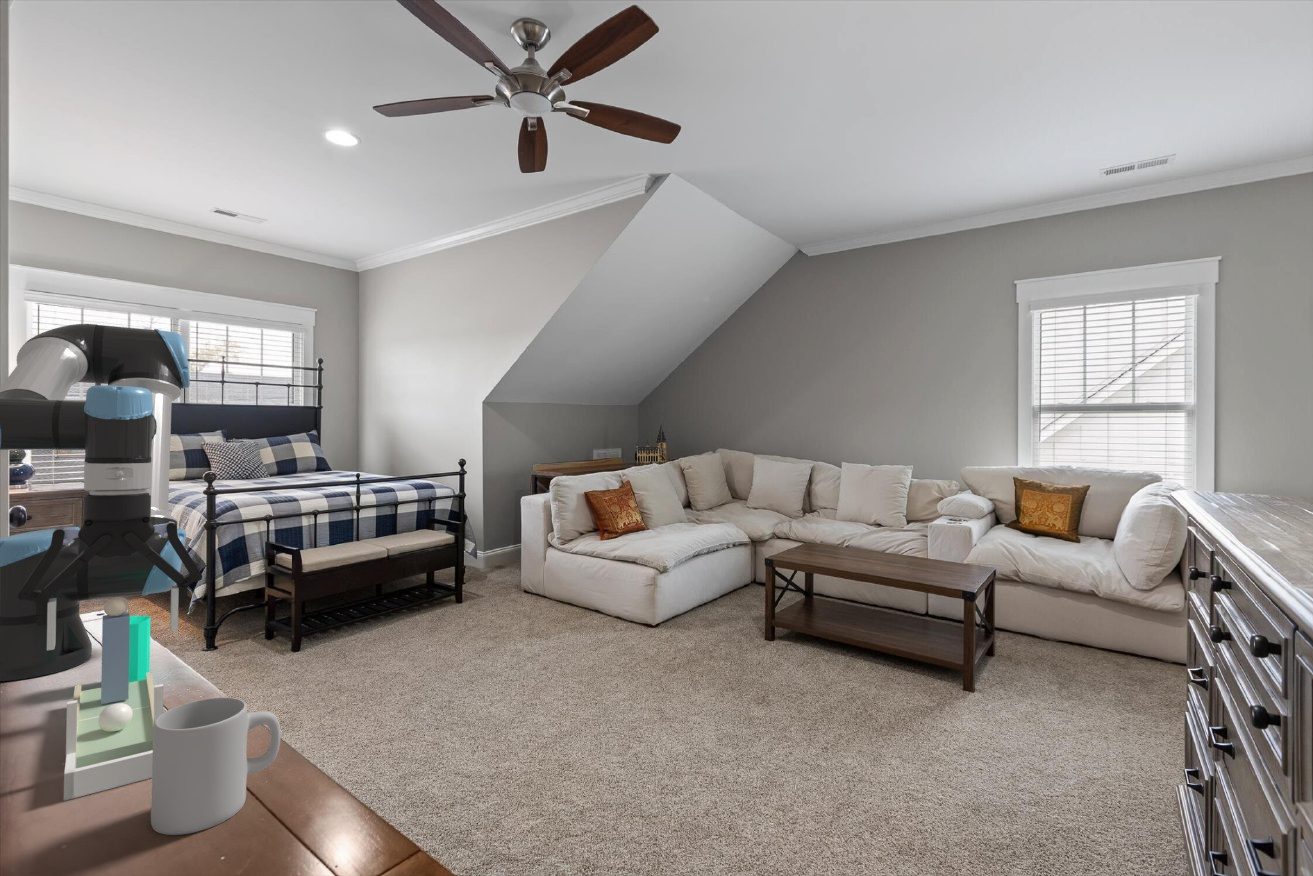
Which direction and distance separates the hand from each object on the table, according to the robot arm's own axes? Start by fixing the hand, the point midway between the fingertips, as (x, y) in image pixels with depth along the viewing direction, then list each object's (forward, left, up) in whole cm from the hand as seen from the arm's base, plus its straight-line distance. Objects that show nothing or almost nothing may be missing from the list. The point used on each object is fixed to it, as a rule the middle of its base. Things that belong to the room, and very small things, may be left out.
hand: (115, 638), depth 93 cm
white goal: (+21, 0, -11) cm, 24 cm away
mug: (+36, +9, -11) cm, 38 cm away
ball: (+12, 0, -7) cm, 14 cm away
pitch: (+5, 0, -11) cm, 12 cm away
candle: (-13, +2, -11) cm, 18 cm away
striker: (0, 0, -9) cm, 9 cm away
